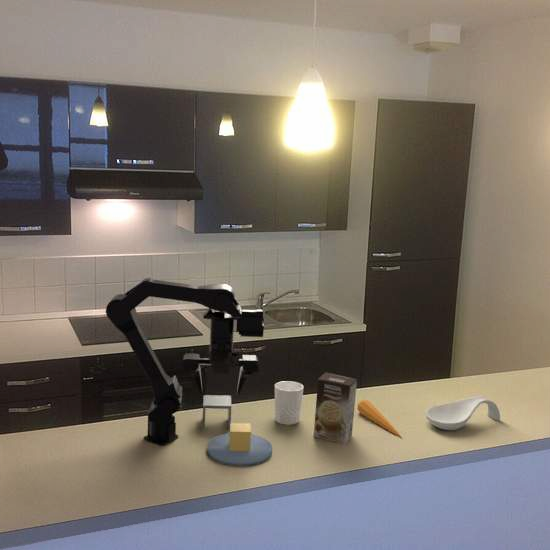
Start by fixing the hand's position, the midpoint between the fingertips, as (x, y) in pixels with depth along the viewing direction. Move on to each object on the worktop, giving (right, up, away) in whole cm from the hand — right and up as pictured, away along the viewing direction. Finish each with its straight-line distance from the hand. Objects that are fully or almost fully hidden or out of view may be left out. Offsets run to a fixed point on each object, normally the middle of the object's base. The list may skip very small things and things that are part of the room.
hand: (219, 395), depth 171 cm
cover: (-2, -10, +12) cm, 16 cm away
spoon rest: (+67, -12, +22) cm, 72 cm away
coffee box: (+29, -12, +8) cm, 33 cm away
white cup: (+17, -10, +17) cm, 26 cm away
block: (+5, -12, -4) cm, 14 cm away
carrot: (+43, -12, +17) cm, 48 cm away
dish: (+5, -13, -3) cm, 15 cm away
